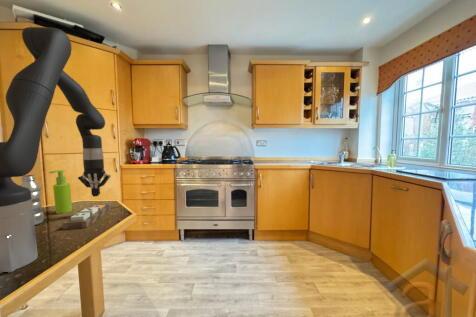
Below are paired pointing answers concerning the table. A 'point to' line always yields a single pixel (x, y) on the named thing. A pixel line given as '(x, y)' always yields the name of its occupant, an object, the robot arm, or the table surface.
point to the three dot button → (90, 210)
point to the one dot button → (99, 206)
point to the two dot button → (80, 216)
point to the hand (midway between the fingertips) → (96, 195)
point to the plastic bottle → (34, 197)
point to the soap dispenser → (62, 194)
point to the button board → (88, 221)
